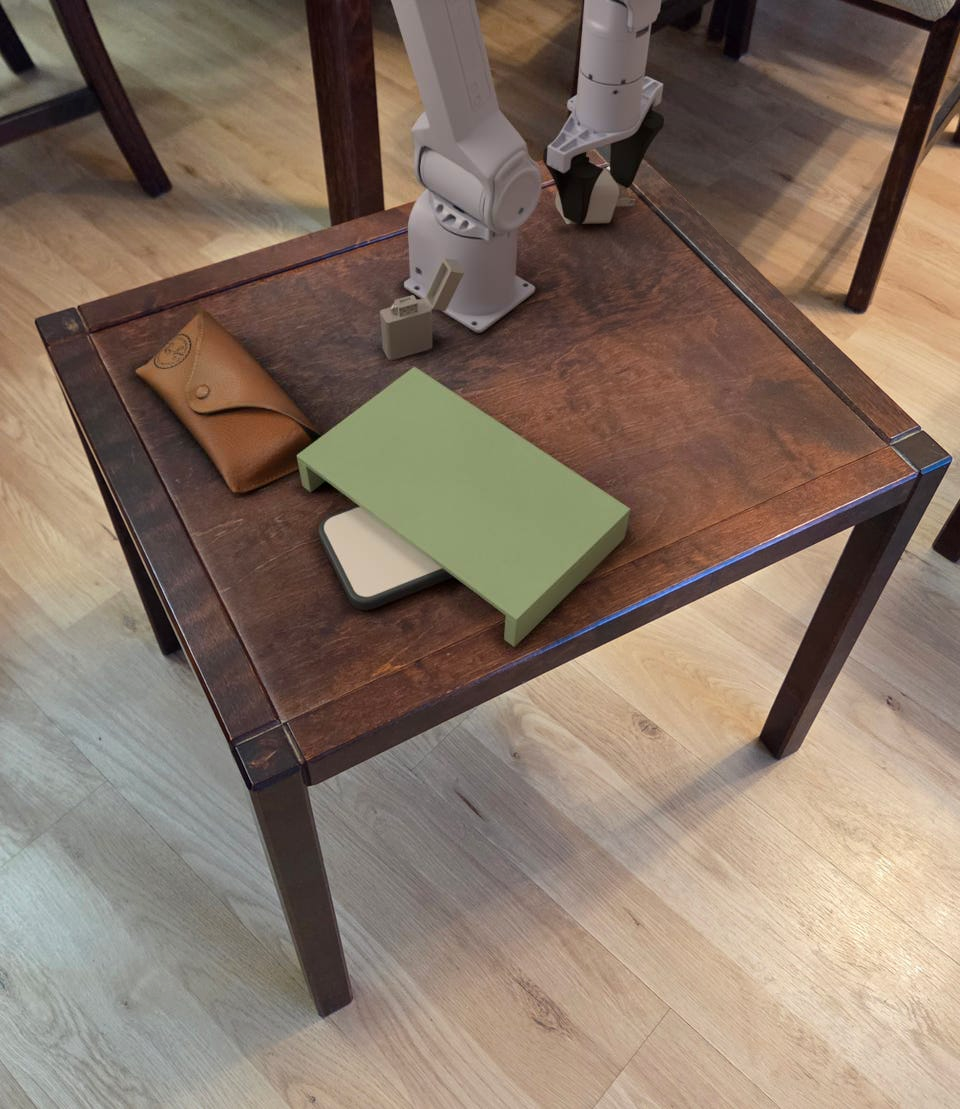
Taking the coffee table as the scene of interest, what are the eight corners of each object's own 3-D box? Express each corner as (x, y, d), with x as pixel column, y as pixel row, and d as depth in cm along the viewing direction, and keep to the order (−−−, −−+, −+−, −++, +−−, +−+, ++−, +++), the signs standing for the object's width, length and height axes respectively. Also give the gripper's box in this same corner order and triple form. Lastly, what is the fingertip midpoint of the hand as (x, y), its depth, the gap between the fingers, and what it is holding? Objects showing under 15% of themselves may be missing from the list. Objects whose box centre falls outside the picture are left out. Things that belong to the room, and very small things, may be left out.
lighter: (389, 361, 91) (383, 288, 85) (382, 348, 92) (376, 275, 86) (464, 339, 93) (464, 266, 87) (456, 326, 94) (456, 253, 88)
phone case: (358, 620, 76) (553, 541, 80) (355, 608, 75) (554, 529, 79) (314, 532, 81) (501, 461, 85) (311, 519, 79) (501, 448, 83)
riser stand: (302, 486, 83) (296, 455, 80) (415, 398, 89) (414, 366, 86) (514, 647, 75) (516, 619, 72) (624, 538, 81) (631, 508, 78)
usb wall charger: (554, 203, 103) (564, 166, 100) (616, 203, 106) (628, 166, 103) (568, 227, 101) (579, 189, 98) (632, 225, 104) (644, 189, 101)
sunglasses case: (125, 369, 89) (145, 300, 86) (197, 369, 95) (218, 304, 91) (236, 500, 81) (263, 430, 78) (307, 492, 87) (335, 426, 83)
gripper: (625, 17, 96) (610, 150, 107) (522, 85, 89) (518, 218, 101) (689, 45, 93) (667, 178, 104) (587, 117, 87) (575, 250, 98)
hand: (598, 200), depth 102 cm, fingers open, 7 cm apart
